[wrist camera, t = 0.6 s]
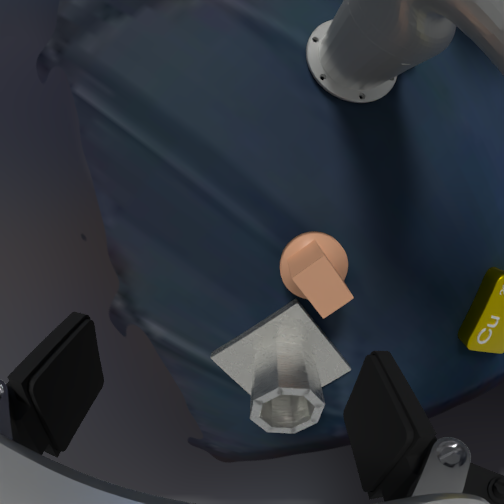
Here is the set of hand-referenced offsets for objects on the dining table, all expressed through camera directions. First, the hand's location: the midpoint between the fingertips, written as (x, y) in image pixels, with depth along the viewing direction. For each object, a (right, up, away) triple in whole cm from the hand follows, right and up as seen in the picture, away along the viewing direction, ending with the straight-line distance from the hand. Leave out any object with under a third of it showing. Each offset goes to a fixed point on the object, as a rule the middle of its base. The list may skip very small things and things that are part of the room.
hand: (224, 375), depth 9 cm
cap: (+9, +3, +31) cm, 33 cm away
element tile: (+47, -7, +34) cm, 58 cm away
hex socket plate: (+6, -13, +37) cm, 39 cm away
